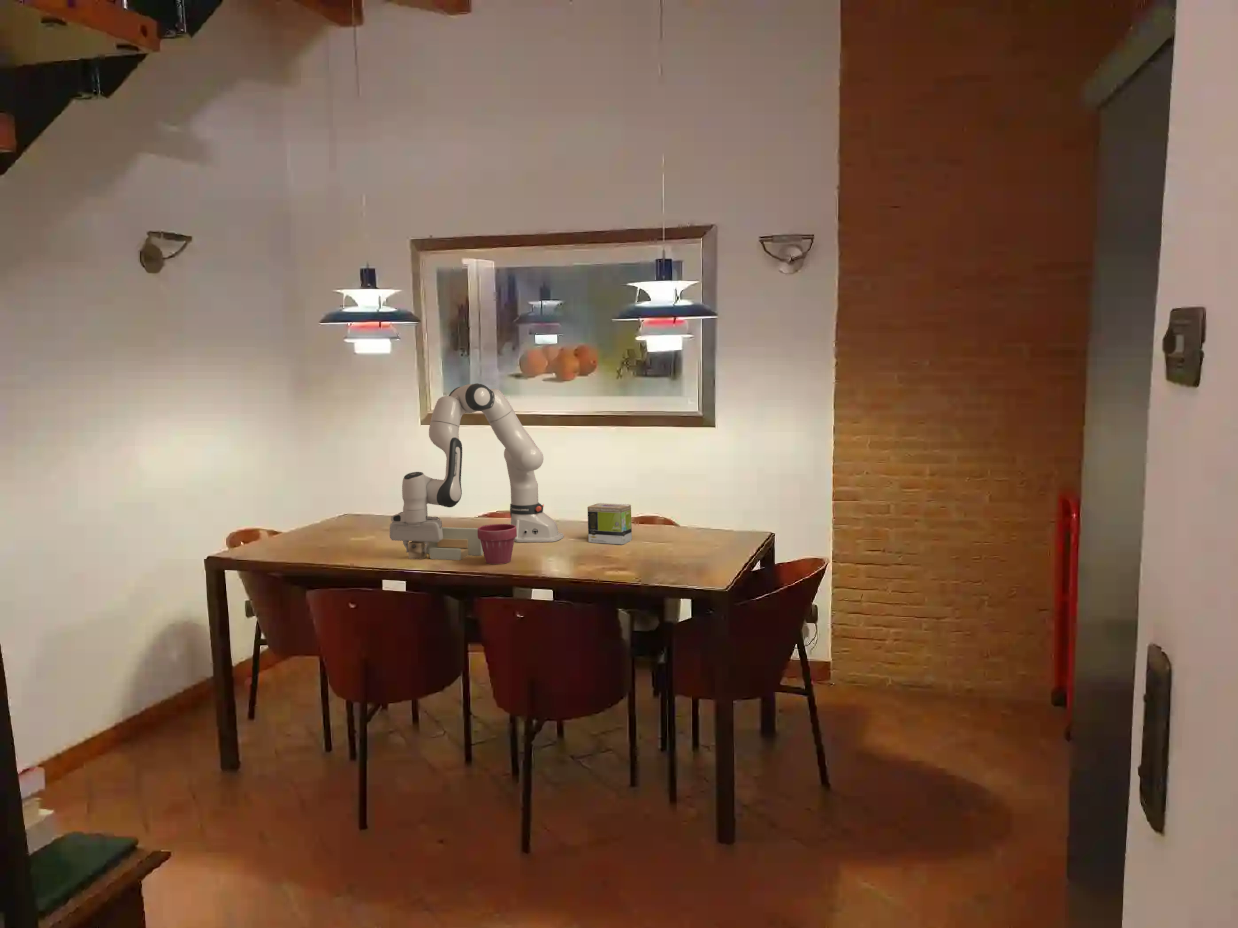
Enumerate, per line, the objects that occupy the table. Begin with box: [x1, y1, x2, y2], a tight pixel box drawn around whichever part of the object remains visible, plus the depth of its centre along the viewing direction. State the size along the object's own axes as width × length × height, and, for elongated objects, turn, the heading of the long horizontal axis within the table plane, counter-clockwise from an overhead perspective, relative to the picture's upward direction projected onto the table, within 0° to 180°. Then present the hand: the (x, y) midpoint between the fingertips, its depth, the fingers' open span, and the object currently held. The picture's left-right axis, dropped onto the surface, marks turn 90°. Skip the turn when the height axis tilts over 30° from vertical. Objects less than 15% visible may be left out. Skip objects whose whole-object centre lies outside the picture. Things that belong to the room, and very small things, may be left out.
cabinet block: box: [407, 541, 427, 560], centre depth 347 cm, size 5×5×6 cm
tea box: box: [587, 502, 633, 545], centre depth 369 cm, size 15×10×15 cm
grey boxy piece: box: [426, 526, 484, 561], centre depth 348 cm, size 22×10×10 cm, turn 77°
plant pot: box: [477, 523, 517, 565], centre depth 338 cm, size 14×14×13 cm
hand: (417, 552), depth 347 cm, fingers open, 5 cm apart
